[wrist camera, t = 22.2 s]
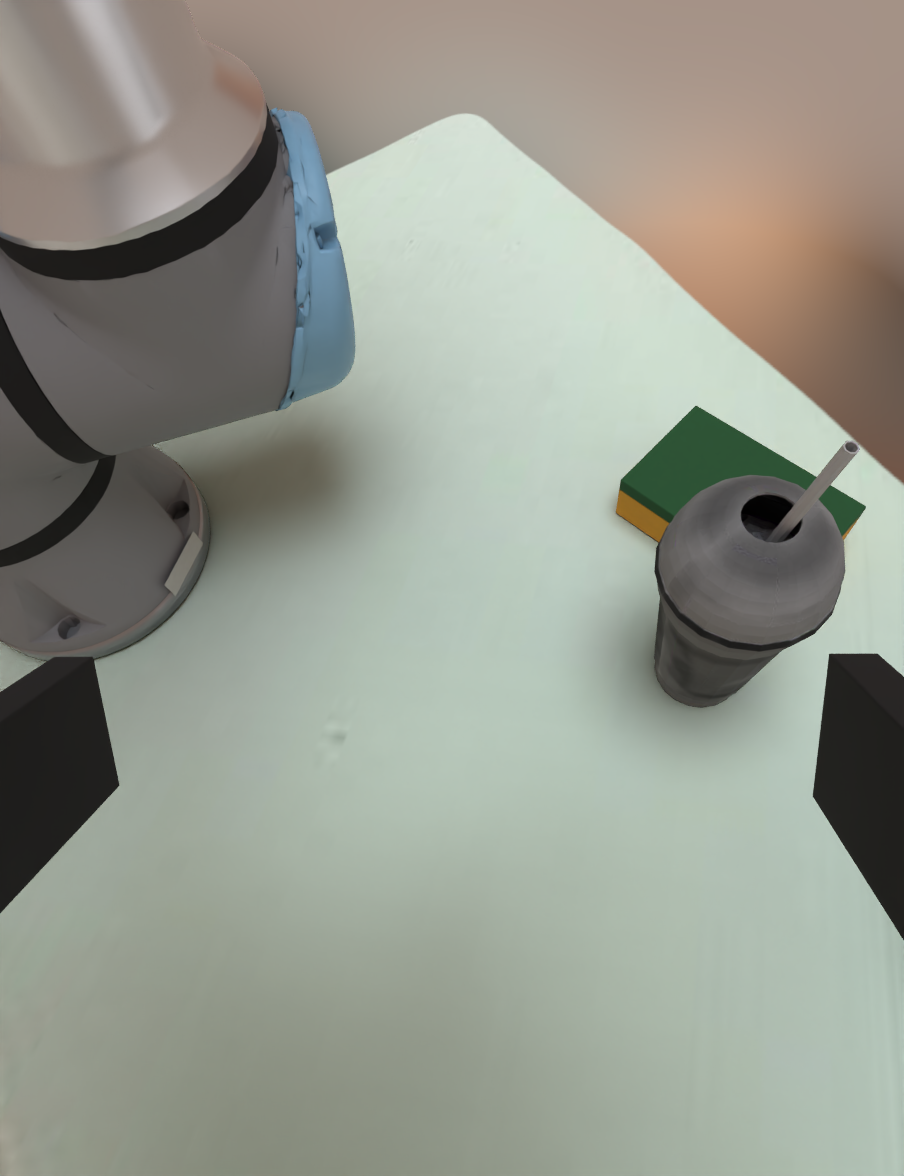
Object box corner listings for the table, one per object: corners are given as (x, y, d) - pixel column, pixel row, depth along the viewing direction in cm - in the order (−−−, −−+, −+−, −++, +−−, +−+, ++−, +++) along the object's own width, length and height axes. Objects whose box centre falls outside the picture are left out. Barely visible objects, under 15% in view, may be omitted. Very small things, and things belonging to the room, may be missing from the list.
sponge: (615, 512, 46) (620, 479, 43) (686, 441, 48) (696, 404, 44) (772, 622, 41) (790, 594, 38) (844, 539, 43) (867, 506, 40)
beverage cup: (645, 593, 43) (712, 333, 25) (777, 626, 41) (948, 371, 24) (614, 709, 40) (665, 508, 23) (754, 750, 38) (929, 567, 21)
